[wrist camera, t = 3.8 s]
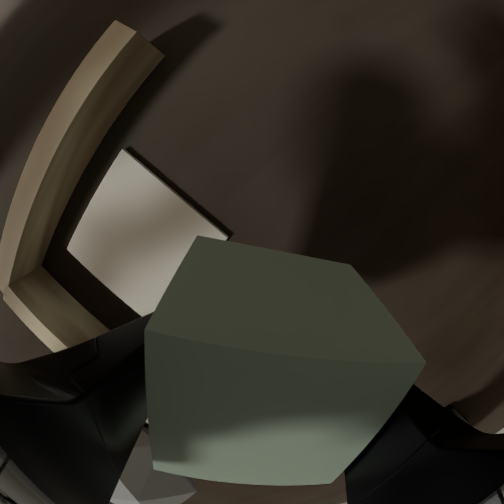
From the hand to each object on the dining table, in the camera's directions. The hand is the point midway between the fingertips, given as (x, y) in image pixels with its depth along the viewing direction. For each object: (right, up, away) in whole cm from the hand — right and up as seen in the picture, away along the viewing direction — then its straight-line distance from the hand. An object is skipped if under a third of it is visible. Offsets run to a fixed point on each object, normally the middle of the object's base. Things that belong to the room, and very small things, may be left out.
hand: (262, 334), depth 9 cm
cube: (0, 0, +1) cm, 1 cm away
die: (-9, -14, +12) cm, 20 cm away
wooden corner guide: (-6, +2, +6) cm, 9 cm away
